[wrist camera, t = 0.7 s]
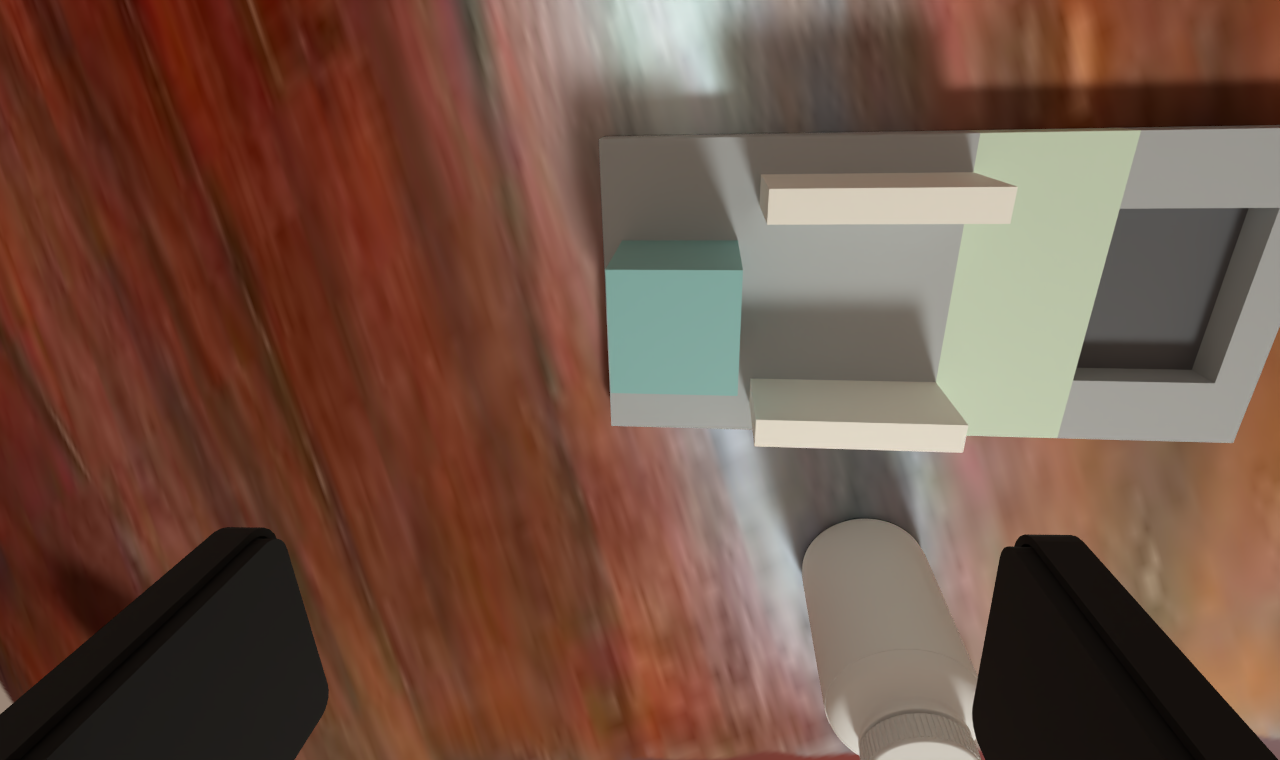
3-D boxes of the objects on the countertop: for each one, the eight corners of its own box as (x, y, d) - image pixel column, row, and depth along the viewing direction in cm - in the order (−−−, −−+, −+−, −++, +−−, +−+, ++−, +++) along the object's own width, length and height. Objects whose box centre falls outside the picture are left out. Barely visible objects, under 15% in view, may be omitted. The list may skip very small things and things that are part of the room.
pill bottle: (778, 543, 44) (808, 752, 30) (893, 495, 41) (983, 698, 28) (830, 625, 46) (880, 852, 32) (942, 584, 44) (1048, 810, 30)
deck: (604, 136, 34) (580, 148, 28) (1320, 124, 31) (1479, 134, 24) (616, 410, 41) (598, 470, 34) (1207, 425, 37) (1309, 495, 31)
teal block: (622, 240, 34) (604, 269, 29) (737, 240, 34) (743, 270, 28) (625, 347, 37) (610, 392, 31) (733, 349, 36) (737, 396, 31)
